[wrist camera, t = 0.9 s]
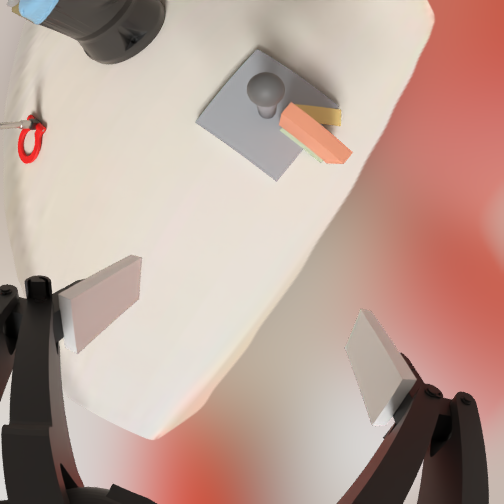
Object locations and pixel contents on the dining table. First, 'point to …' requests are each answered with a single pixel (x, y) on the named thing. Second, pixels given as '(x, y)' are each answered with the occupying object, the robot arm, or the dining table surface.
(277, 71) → the grey flat block
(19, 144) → the tow hook
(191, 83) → the dining table surface
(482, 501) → the robot arm
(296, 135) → the lever
